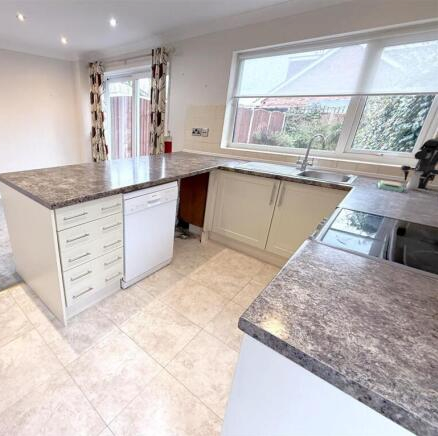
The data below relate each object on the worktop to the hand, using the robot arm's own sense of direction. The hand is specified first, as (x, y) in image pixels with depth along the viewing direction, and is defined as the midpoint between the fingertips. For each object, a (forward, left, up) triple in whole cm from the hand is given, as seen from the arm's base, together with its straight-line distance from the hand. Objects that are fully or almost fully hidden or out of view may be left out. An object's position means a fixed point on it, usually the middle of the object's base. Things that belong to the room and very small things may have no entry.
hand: (413, 182), depth 171 cm
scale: (+8, -12, -5) cm, 15 cm away
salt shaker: (-1, 0, -5) cm, 5 cm away
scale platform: (+7, -12, -2) cm, 14 cm away
